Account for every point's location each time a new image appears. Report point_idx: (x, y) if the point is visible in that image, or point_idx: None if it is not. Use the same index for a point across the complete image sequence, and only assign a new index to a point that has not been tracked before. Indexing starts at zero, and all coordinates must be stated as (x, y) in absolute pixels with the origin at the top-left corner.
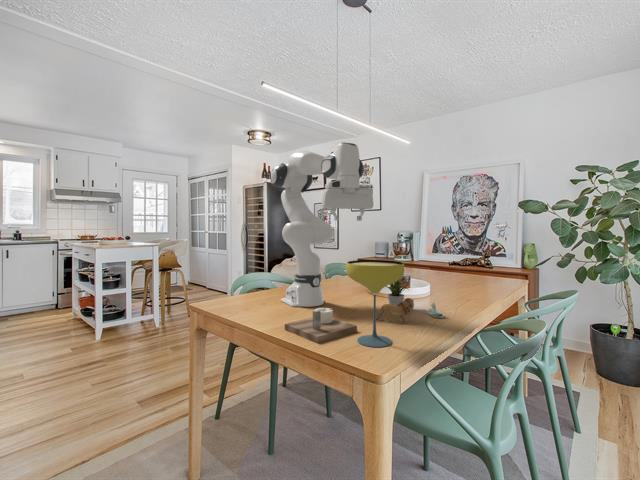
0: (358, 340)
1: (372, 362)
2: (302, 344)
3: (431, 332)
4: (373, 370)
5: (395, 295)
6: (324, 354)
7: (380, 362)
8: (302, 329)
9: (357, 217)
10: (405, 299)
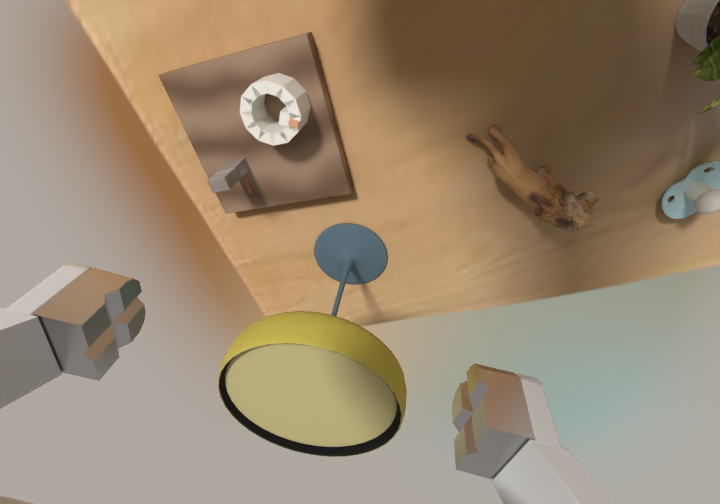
0: (317, 242)
1: None
2: (200, 198)
3: (509, 275)
4: None
5: None
6: (230, 257)
7: None
8: (202, 151)
9: (473, 418)
10: (566, 215)
